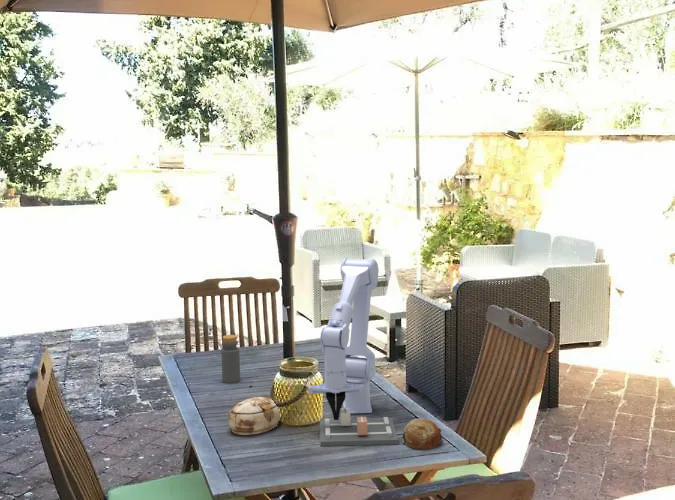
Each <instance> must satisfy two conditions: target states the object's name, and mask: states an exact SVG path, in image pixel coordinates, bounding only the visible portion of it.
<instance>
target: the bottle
mask: <svg viewBox="0 0 675 500" xmlns="http://www.w3.org/2000/svg"><path fill="white" fill-rule="evenodd" d="M237 339H238V336H237V335H235V334H226V335H223V336H222V340H223V341H222V342H221V345H222V346H223V348H222V349H221V352H220V353H221V372H222V374H221V376H222V377H221V378H222V382H223V383H225V384H235V383H238V382H240V381H241V364H240V362H241V361H240V360H241V359H240V349H239V347H237V346H238V344H239V343H238V340H237Z"/></svg>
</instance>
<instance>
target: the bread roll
mask: <svg viewBox="0 0 675 500" xmlns="http://www.w3.org/2000/svg"><path fill="white" fill-rule="evenodd" d="M402 432H403V433H402V441H401V442H402V443H403V444H404V445H406V446H407V447H409V448H412V449H416V450H428V449H433V448H435V447H437V446H439V445H440V443H441V442H442V438H443V436H442V433H441V432H442V429H441V428H439V426H437V424H436V423H435V422H433V420H429V419H425V418H414V419H411V420H410V421H408V423H406V425H405V426H404V428H403V430H402Z"/></svg>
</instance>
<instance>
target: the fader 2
mask: <svg viewBox="0 0 675 500" xmlns="http://www.w3.org/2000/svg"><path fill="white" fill-rule="evenodd" d="M356 419H357V433H358V435H367V416H356Z"/></svg>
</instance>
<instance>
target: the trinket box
mask: <svg viewBox="0 0 675 500" xmlns="http://www.w3.org/2000/svg"><path fill="white" fill-rule="evenodd" d="M272 399H273V398H271V397H267V396H255V397H250V398H247V399H244V400H242V401H240V402H238V403H237V404H236V405H234V406H233V408H231V410H229V413H228V418H227V419H228V425H229V427H230V428H231V431H232V433H234V434H236V435H240V436H248V435H249V436H250V435H257V434H261V433H265V432H269V431H271V430H273V429H274V427H275V426H276V427H277V426H278V425H279V422H278V421H280V420H279V418H280V419H281V417H280V413H279V409H278V407H277V406H276V404H275V403H274V401H273V400H272ZM277 424H278V425H277ZM276 427H275V428H276ZM272 428H273V429H272ZM270 429H271V430H270Z"/></svg>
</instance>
